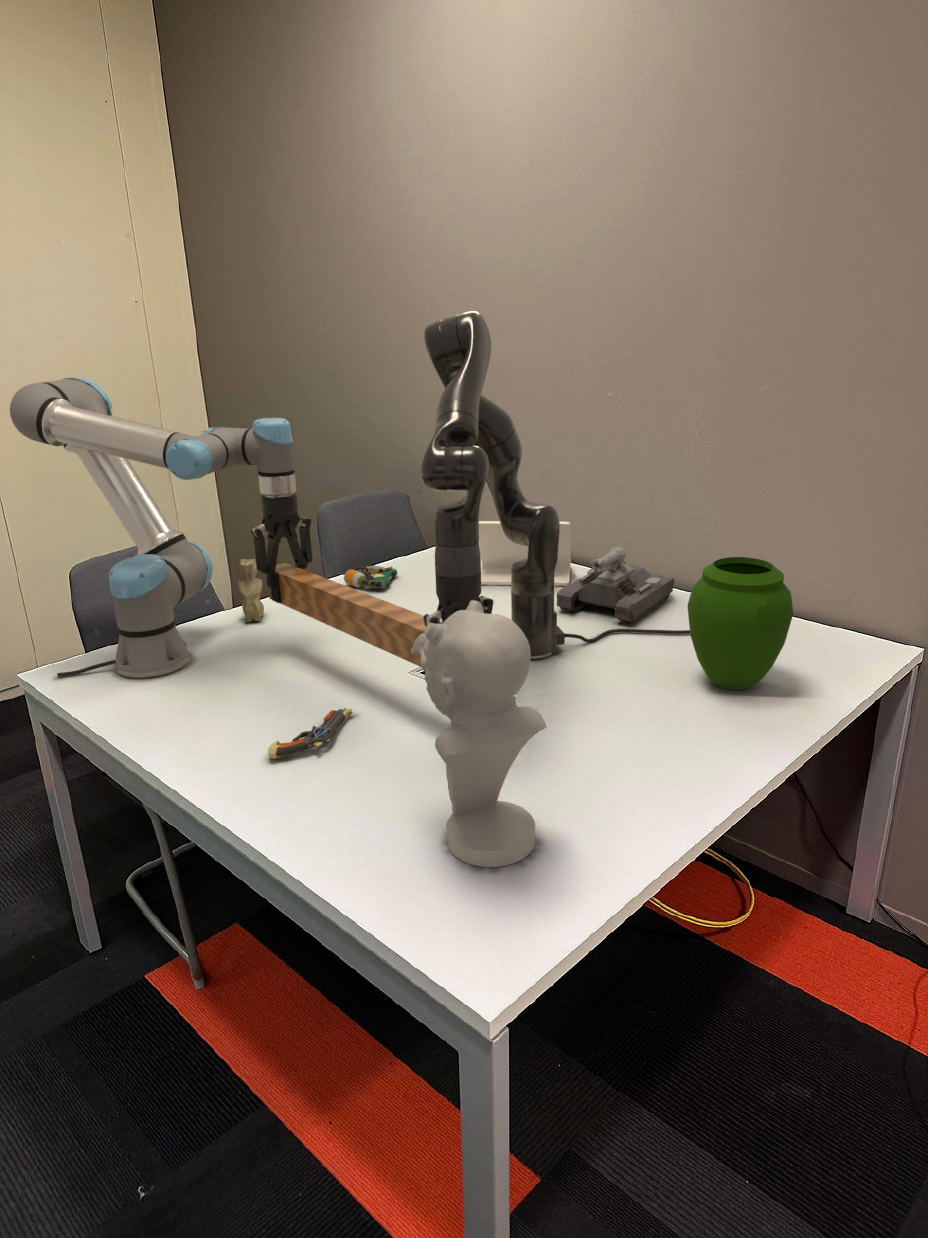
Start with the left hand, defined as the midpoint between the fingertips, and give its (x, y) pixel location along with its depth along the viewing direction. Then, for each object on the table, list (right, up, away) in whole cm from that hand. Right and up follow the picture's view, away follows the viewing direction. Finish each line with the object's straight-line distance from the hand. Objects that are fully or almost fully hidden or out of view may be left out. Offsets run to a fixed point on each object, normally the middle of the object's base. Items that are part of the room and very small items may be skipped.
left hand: (288, 598), depth 188 cm
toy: (+77, -1, +27) cm, 81 cm away
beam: (+19, -8, -20) cm, 29 cm away
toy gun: (+11, -26, -34) cm, 44 cm away
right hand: (+38, -12, -41) cm, 58 cm away
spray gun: (+14, +6, +50) cm, 52 cm away
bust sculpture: (+40, -36, -62) cm, 82 cm away
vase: (+92, -17, -17) cm, 95 cm away
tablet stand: (+56, +7, +52) cm, 76 cm away
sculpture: (-13, -5, +25) cm, 29 cm away
